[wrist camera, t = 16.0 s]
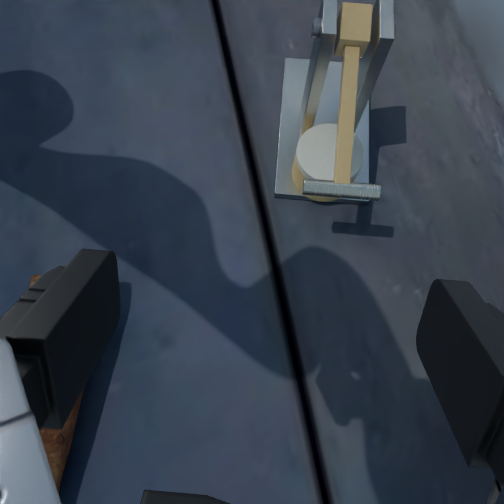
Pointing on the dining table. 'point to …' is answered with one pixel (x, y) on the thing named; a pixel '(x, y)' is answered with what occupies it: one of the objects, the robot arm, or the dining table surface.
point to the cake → (322, 157)
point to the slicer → (328, 91)
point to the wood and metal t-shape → (347, 106)
